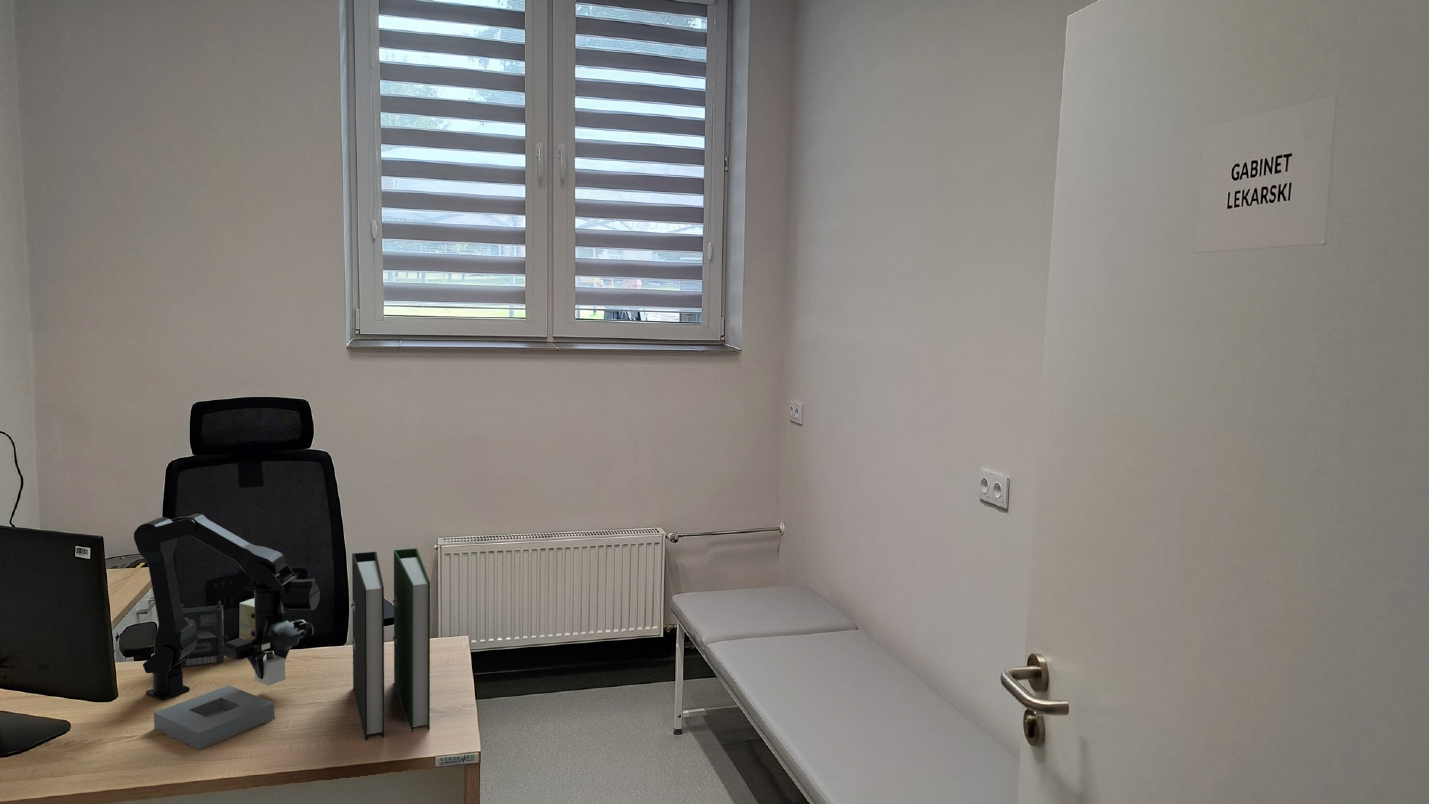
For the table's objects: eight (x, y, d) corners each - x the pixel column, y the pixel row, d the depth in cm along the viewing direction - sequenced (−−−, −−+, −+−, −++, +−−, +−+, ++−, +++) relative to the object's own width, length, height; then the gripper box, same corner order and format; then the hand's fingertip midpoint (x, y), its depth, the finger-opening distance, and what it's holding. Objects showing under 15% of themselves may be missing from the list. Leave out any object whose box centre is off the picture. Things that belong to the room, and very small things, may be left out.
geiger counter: (229, 656, 219) (227, 597, 218) (227, 663, 215) (225, 603, 214) (180, 661, 215) (179, 601, 214) (177, 668, 211) (175, 607, 209)
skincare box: (238, 649, 224) (237, 602, 223) (253, 643, 228) (252, 597, 227) (257, 653, 221) (256, 606, 220) (271, 647, 225) (270, 601, 224)
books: (433, 729, 185) (433, 581, 182) (357, 741, 179) (356, 589, 176) (417, 679, 210) (417, 548, 206) (349, 688, 203) (348, 553, 200)
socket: (154, 728, 181) (153, 712, 181) (229, 700, 195) (229, 685, 195) (199, 749, 174) (199, 732, 173) (274, 718, 187) (274, 703, 187)
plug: (254, 680, 198) (254, 652, 198) (271, 674, 202) (270, 647, 201) (268, 685, 196) (268, 657, 195) (285, 679, 200) (284, 651, 199)
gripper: (251, 628, 185) (252, 699, 187) (328, 604, 201) (329, 669, 203) (219, 617, 191) (221, 686, 192) (297, 595, 207) (298, 659, 208)
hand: (269, 675), depth 199 cm, fingers closed on plug, 4 cm apart
